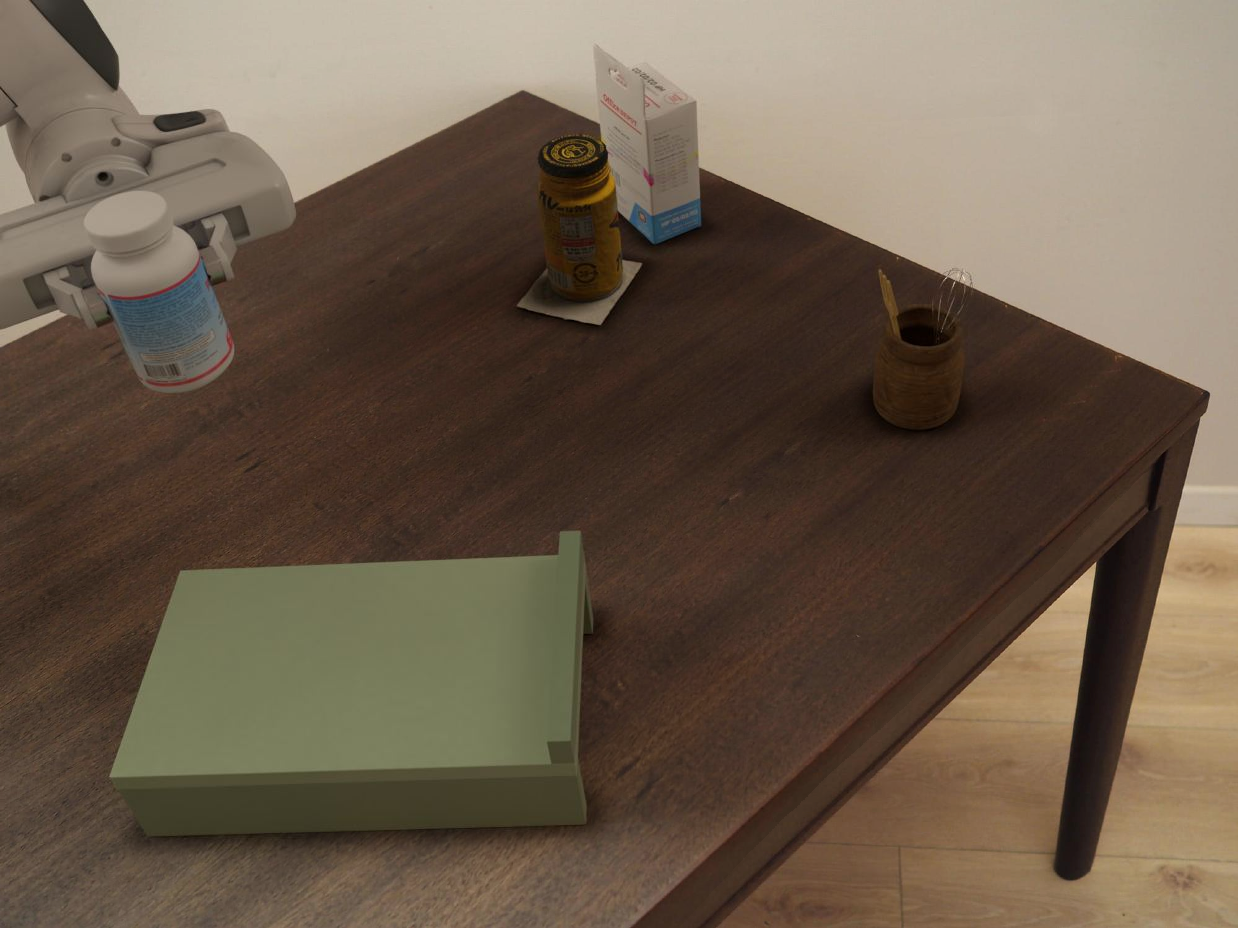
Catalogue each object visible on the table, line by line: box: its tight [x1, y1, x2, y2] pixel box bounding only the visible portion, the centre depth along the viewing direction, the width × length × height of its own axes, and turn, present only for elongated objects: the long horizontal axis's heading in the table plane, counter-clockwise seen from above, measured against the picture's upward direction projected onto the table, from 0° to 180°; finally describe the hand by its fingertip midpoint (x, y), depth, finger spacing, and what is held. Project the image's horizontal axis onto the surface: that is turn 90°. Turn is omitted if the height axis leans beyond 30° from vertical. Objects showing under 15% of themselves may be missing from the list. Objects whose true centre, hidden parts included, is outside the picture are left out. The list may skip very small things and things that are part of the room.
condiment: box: [516, 133, 643, 326], centre depth 98 cm, size 7×8×12 cm
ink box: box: [592, 43, 702, 245], centre depth 104 cm, size 8×5×15 cm, turn 29°
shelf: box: [109, 530, 594, 837], centre depth 71 cm, size 24×14×8 cm, turn 89°
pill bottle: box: [84, 191, 235, 394], centre depth 75 cm, size 6×6×11 cm
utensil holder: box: [872, 267, 974, 431], centre depth 85 cm, size 6×6×12 cm
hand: (160, 294), depth 74 cm, fingers closed on pill bottle, 6 cm apart
